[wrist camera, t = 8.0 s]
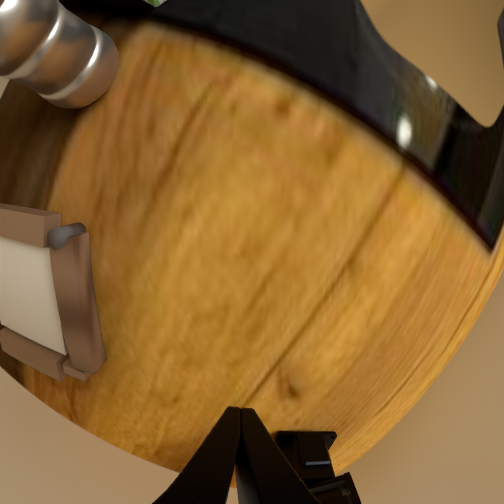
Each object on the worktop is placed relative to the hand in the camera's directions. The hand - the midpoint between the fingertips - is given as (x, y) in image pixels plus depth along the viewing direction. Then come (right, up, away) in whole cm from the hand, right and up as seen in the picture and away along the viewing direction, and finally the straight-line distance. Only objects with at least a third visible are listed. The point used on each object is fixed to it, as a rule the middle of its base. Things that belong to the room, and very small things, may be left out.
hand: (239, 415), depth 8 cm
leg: (-13, +2, +12) cm, 18 cm away
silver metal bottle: (-12, +19, +8) cm, 24 cm away
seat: (-21, +2, +12) cm, 24 cm away
